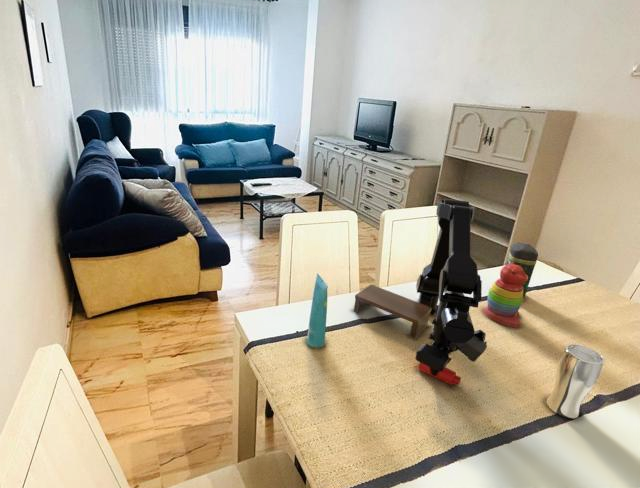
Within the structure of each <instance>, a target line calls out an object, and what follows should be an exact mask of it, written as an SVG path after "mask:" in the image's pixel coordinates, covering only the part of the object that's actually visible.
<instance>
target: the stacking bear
mask: <svg viewBox="0 0 640 488" xmlns="http://www.w3.org/2000/svg"><path fill="white" fill-rule="evenodd" d="M527 280H528V276H527V275H526V274H525V273H524V270H523V269H522V268H521V267H520V266H518V265H515V264H514V262H511V263H510V264H509V265H506V264H505V265H504V266H502V267H501V269H500V272H499V278H497V279H496V280H495V281H494V282H493V284H492V285H491V287H490V288H489V290H488V293H487V299H486V300H487V302H486V303H487V305H486V306H485V308H484V311H483V312H484V314H485V316H487V318H489V319H491V320H493V321H495V322H497V323H499V324H501V325H504V326H507V327H511V328H519V327H521V321H520V319H519V317H520V312H519V311H520V309H521V307H522V305H523V301H524V299H523V286H522V285H521V284H523V283H525V282H526V281H527Z"/></svg>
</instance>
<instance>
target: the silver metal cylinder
mask: <svg viewBox="0 0 640 488" xmlns="http://www.w3.org/2000/svg"><path fill="white" fill-rule="evenodd" d="M604 362H605V358H604V356H603V355H602V354H601V353H599V352H598V351H596V350H595V349H593V348H591V347H588V346H586V345H583V344H579V343H570V344H567V345H566V346H565V348H564V351H563V352H562V354H561V356H560V359H559V360H558V364H557V367H556V373H555V381H554V386H553V390H552V392H551V393H550V395H549V396H548V397H547V399H546V405H547V406H548V408H549V409H550V410H551V411H553V412H554V413H555V414H557V415H559V416H560V417H563V418H565V419H566V418H567V419H577V418H578V417H579V416H580V413H581V405H582V403H583V401H584V399H585V398H586V397H587V396H588V395H589V393H590V392H591V390H593V388H594V387H595V385H596V383H597V382H598V379H599V378H600V375H601V373H602V369H603V366H604Z"/></svg>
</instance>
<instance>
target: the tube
mask: <svg viewBox="0 0 640 488" xmlns="http://www.w3.org/2000/svg"><path fill="white" fill-rule="evenodd" d="M328 287H329V285H328V284H327V283H326V282H325V280H324V279H323V278H322V276H321V275H320V274H319V272H317V273H316V277H315V283H314V287H313V293H312V301H311V306H310V314H309V320H308V321H309V322H308V328H307V335H306V336H307V337H306V343H307V345H308V346H309V347H311V348H316V349H318V348H322V347H324V345H325V344H326V331H327V330H326V329H327V317H328V316H327V315H328V314H327V313H328Z"/></svg>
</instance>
